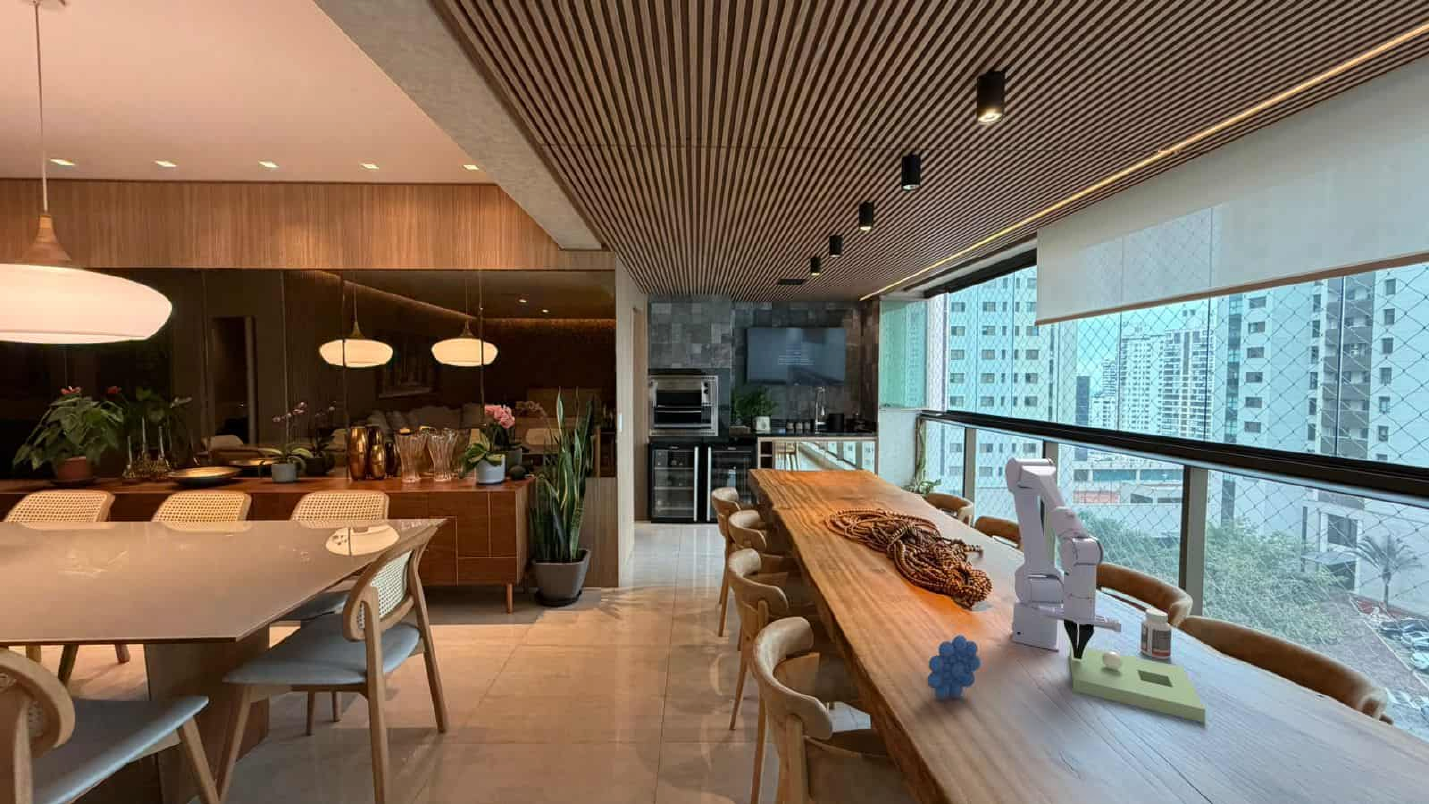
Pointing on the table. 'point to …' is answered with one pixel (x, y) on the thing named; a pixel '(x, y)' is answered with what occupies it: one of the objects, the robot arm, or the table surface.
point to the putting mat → (1137, 684)
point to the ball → (1112, 660)
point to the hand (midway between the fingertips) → (1077, 657)
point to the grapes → (953, 667)
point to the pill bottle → (1156, 634)
